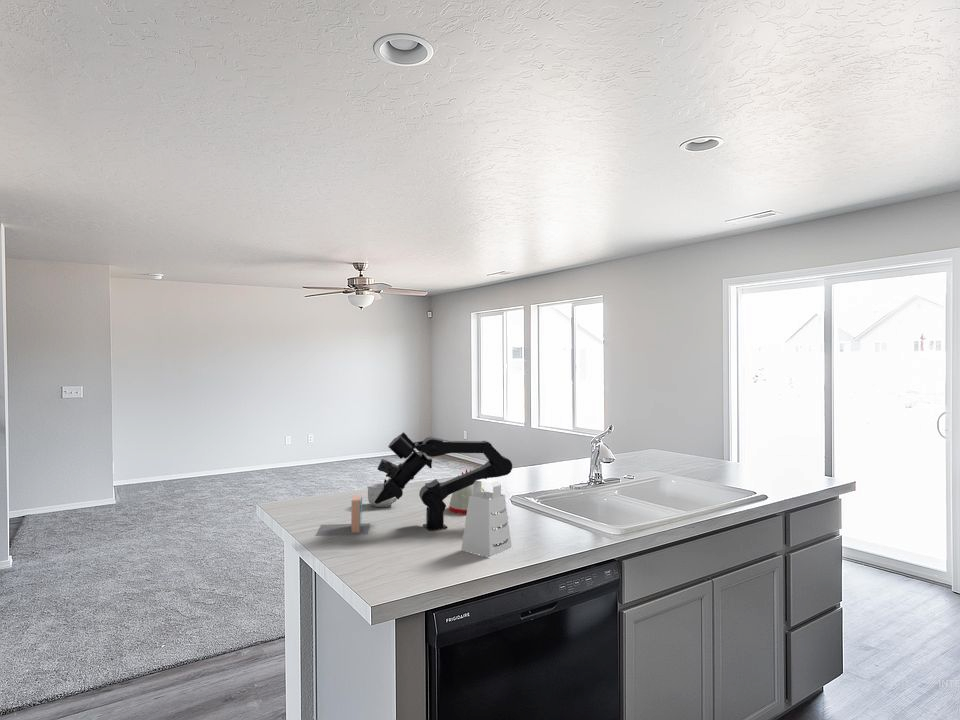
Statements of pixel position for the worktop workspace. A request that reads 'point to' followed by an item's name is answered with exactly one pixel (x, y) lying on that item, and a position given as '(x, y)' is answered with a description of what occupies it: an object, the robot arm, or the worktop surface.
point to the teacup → (373, 494)
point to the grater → (486, 521)
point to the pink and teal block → (356, 514)
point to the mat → (341, 529)
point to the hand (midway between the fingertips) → (375, 502)
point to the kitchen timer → (461, 499)
